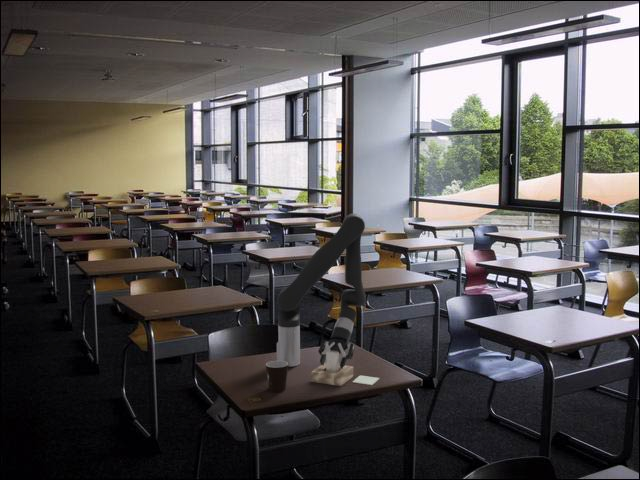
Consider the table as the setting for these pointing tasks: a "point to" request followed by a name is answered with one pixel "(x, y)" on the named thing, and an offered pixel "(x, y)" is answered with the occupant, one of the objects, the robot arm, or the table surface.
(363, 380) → the mat
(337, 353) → the white upright block
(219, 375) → the table surface
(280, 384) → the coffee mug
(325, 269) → the robot arm
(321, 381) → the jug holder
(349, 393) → the table surface
